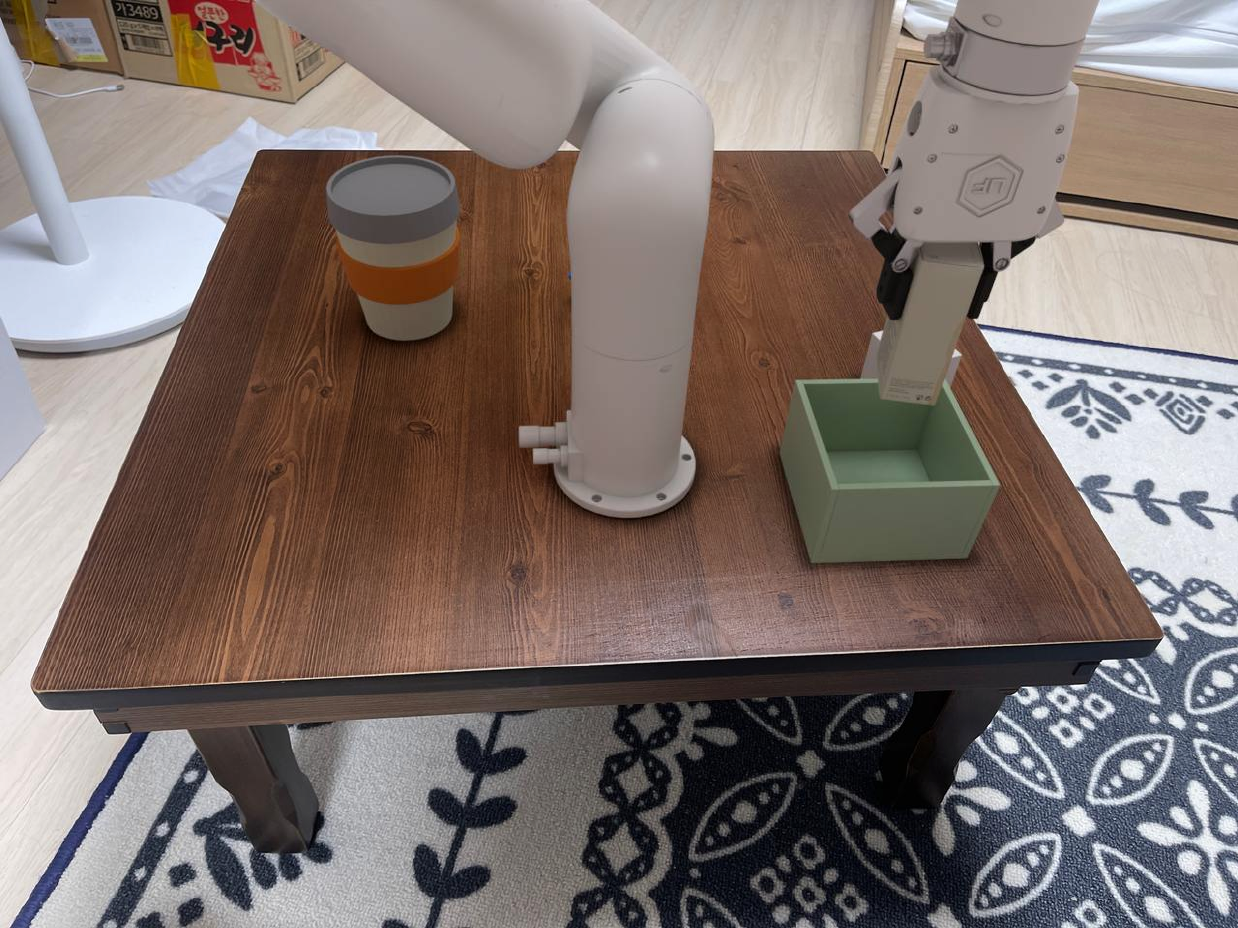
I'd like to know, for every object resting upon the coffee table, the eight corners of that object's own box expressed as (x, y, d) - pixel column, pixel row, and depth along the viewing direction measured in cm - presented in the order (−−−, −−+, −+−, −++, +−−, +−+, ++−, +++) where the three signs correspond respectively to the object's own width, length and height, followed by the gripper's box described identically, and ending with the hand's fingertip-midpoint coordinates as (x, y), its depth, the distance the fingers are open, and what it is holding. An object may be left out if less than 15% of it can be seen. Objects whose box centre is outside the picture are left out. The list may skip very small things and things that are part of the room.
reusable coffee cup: (324, 314, 98) (296, 182, 88) (419, 270, 105) (403, 142, 95) (398, 367, 92) (377, 232, 82) (493, 316, 99) (485, 185, 89)
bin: (810, 563, 76) (831, 489, 70) (779, 453, 86) (795, 379, 80) (967, 558, 77) (1000, 485, 71) (918, 450, 87) (944, 377, 81)
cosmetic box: (935, 408, 71) (988, 270, 62) (876, 400, 71) (920, 261, 63) (928, 359, 75) (976, 224, 67) (872, 351, 76) (913, 216, 67)
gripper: (888, 79, 53) (826, 341, 65) (1175, 82, 54) (1059, 337, 67) (854, 31, 58) (802, 282, 70) (1115, 35, 59) (1018, 280, 72)
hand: (928, 307), depth 68 cm, fingers closed on cosmetic box, 5 cm apart
